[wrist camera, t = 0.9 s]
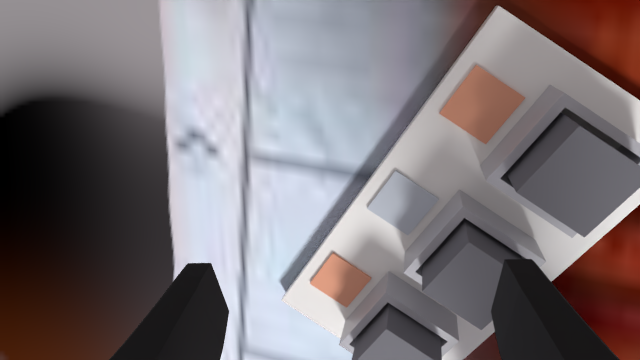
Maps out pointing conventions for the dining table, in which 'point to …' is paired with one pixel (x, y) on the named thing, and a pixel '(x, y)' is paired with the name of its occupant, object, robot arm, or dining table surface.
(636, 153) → the button board
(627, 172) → the button near
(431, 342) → the button far
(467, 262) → the button middle
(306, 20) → the dining table surface
